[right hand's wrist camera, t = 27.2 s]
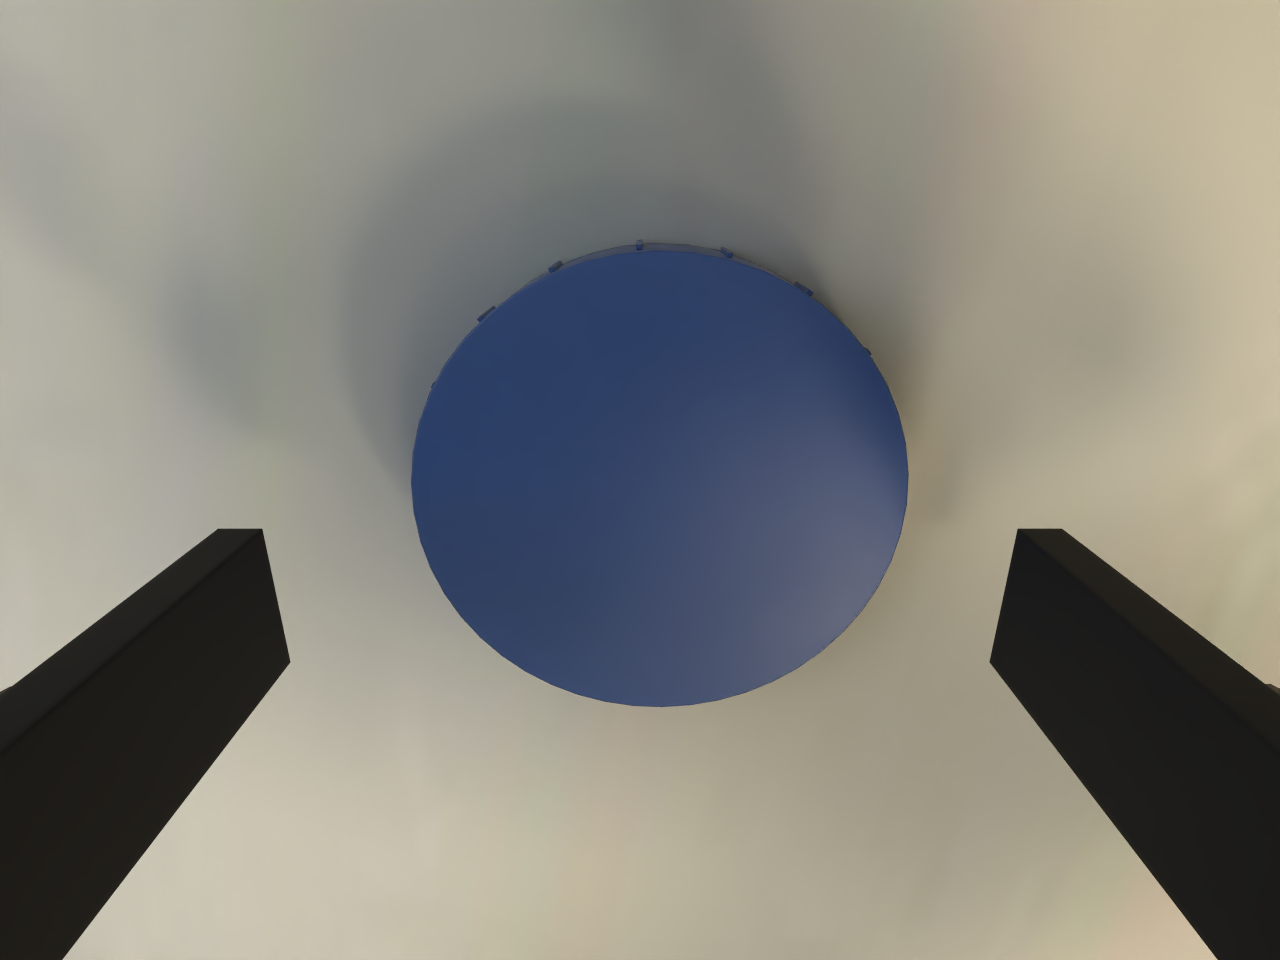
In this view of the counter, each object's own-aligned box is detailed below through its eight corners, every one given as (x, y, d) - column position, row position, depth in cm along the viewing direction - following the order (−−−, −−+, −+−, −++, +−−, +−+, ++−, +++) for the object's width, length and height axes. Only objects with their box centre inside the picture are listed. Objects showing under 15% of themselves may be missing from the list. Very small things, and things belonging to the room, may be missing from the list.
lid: (366, 553, 17) (335, 593, 15) (553, 138, 14) (540, 131, 12) (730, 718, 19) (738, 771, 17) (978, 388, 15) (1018, 413, 14)
